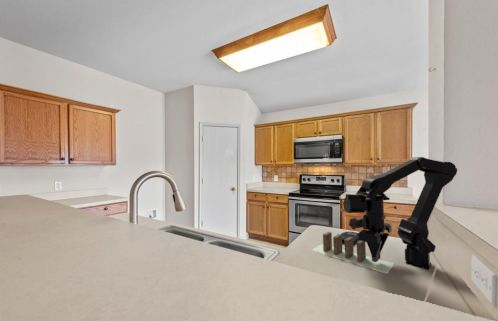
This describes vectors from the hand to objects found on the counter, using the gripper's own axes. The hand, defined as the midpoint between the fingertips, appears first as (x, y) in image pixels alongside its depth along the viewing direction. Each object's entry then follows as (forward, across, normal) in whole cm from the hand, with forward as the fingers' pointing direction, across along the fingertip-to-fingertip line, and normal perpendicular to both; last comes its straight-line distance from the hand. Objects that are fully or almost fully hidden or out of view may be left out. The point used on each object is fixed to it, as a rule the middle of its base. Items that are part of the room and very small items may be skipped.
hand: (376, 255), depth 76 cm
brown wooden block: (+3, 0, -5) cm, 6 cm away
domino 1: (+3, 0, -19) cm, 19 cm away
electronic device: (+4, -19, -17) cm, 26 cm away
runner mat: (+4, 0, -10) cm, 10 cm away
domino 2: (+3, 0, -14) cm, 14 cm away
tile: (+2, 0, 0) cm, 2 cm away
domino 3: (+3, 0, -10) cm, 10 cm away
